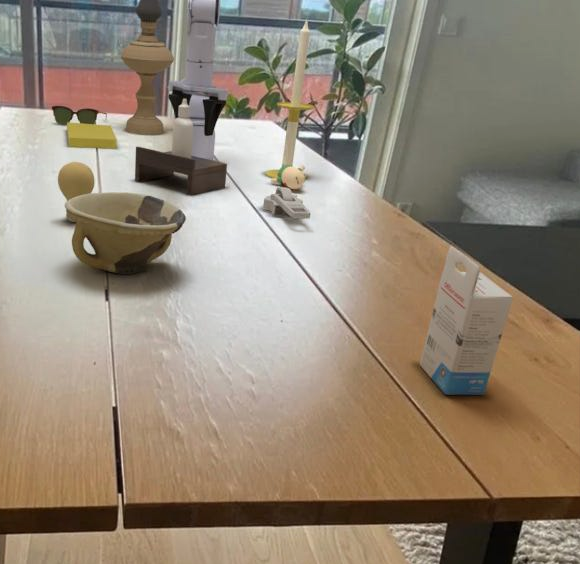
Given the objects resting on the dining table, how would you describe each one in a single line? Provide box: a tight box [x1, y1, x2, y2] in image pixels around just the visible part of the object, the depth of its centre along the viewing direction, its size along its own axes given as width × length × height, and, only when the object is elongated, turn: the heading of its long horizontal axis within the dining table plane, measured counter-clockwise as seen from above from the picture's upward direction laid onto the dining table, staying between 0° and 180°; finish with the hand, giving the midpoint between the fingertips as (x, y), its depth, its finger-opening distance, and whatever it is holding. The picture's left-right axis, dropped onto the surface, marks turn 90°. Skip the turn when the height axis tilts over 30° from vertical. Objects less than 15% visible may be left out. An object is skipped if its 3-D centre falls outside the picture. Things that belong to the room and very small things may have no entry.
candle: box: [264, 19, 315, 180], centre depth 175 cm, size 10×10×32 cm
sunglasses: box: [51, 105, 108, 126], centre depth 229 cm, size 14×15×5 cm
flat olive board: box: [66, 121, 117, 150], centre depth 207 cm, size 12×2×24 cm
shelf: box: [134, 146, 228, 196], centre depth 167 cm, size 12×16×7 cm
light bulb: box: [57, 161, 96, 223], centre depth 136 cm, size 6×6×10 cm
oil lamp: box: [119, 0, 175, 136], centre depth 213 cm, size 15×15×40 cm
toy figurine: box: [270, 164, 306, 191], centre depth 172 cm, size 8×4×12 cm
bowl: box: [64, 191, 187, 275], centre depth 115 cm, size 18×18×10 cm
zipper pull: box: [262, 186, 312, 219], centre depth 149 cm, size 8×18×4 cm, turn 7°
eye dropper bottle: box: [171, 99, 193, 158], centre depth 163 cm, size 4×6×12 cm
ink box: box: [419, 245, 514, 396], centre depth 87 cm, size 9×5×15 cm, turn 5°
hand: (194, 132), depth 166 cm, fingers open, 7 cm apart
